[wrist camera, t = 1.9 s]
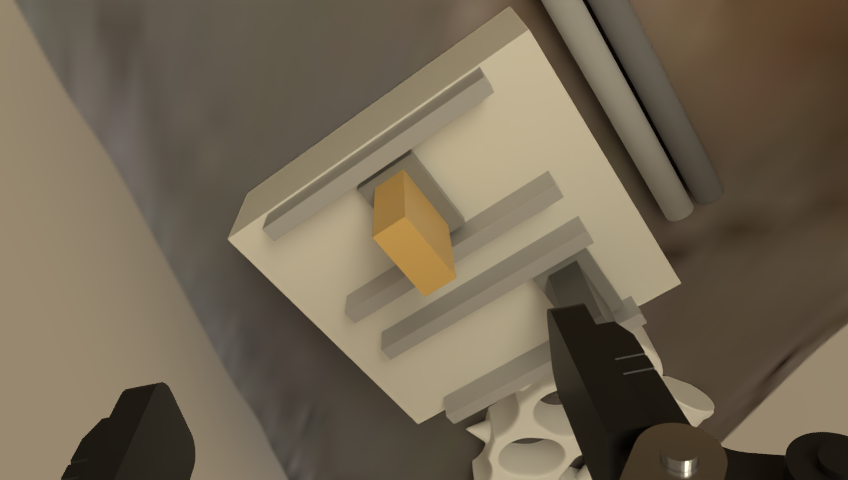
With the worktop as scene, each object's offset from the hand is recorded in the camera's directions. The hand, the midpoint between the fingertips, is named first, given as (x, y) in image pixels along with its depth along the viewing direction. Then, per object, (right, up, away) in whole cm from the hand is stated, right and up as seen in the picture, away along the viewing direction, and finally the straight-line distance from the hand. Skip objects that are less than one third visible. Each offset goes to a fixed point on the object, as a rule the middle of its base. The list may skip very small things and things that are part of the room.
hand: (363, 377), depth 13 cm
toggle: (+9, +1, +20) cm, 22 cm away
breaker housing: (+3, +4, +23) cm, 24 cm away
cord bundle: (+12, +11, +20) cm, 25 cm away
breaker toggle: (+1, +5, +17) cm, 18 cm away
